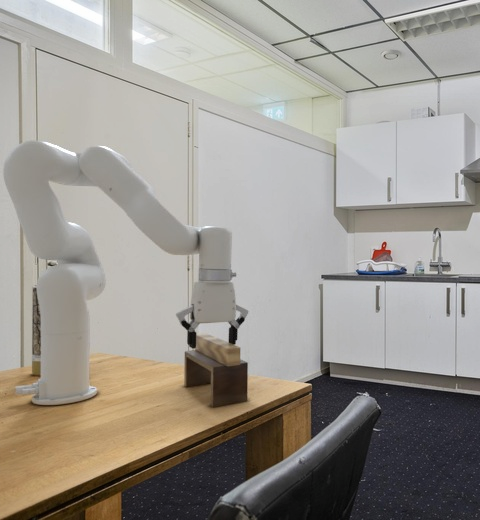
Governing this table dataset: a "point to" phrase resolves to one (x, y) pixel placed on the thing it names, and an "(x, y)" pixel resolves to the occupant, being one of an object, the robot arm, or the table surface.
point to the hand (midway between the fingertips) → (212, 345)
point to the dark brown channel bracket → (217, 378)
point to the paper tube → (36, 334)
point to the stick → (218, 349)
